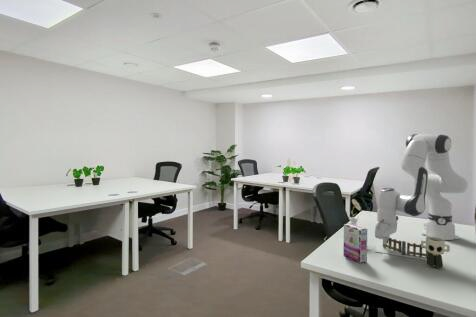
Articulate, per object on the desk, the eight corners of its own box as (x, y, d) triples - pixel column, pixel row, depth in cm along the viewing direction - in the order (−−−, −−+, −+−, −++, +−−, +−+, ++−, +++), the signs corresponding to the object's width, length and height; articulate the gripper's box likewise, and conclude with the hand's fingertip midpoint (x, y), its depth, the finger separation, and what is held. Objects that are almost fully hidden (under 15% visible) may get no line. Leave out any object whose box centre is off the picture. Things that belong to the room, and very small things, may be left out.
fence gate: (384, 246, 150) (384, 235, 150) (401, 252, 142) (401, 241, 142) (382, 247, 150) (383, 236, 150) (399, 252, 141) (400, 241, 141)
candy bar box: (367, 262, 131) (368, 228, 131) (359, 263, 130) (360, 229, 129) (350, 253, 142) (350, 222, 141) (342, 255, 140) (343, 223, 140)
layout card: (376, 243, 158) (376, 242, 158) (427, 250, 146) (428, 250, 146) (375, 252, 144) (375, 251, 144) (432, 261, 133) (432, 260, 133)
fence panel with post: (401, 254, 142) (402, 240, 141) (429, 258, 136) (429, 244, 136) (401, 255, 140) (402, 241, 140) (429, 259, 135) (429, 245, 134)
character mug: (420, 266, 127) (421, 239, 126) (420, 261, 133) (420, 234, 132) (450, 272, 121) (450, 243, 120) (448, 266, 127) (449, 238, 126)
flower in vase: (365, 245, 154) (366, 202, 153) (343, 243, 158) (344, 200, 157) (362, 238, 166) (363, 198, 165) (342, 236, 170) (343, 197, 169)
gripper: (384, 222, 137) (383, 249, 137) (399, 216, 150) (399, 241, 151) (371, 220, 142) (371, 246, 142) (387, 214, 155) (386, 238, 155)
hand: (385, 243), depth 147 cm, fingers closed
